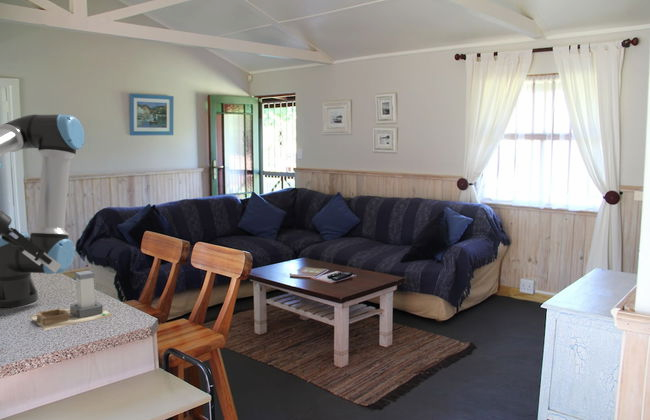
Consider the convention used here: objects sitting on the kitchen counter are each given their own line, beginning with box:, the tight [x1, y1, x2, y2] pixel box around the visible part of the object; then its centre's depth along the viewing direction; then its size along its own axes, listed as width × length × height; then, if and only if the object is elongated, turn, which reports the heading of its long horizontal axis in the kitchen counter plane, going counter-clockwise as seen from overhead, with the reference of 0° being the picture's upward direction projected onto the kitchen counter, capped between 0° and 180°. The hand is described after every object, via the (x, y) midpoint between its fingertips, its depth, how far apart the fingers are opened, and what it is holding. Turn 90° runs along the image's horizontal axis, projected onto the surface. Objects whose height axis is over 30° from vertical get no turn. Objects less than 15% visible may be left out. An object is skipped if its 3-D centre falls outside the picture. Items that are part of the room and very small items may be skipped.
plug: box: [74, 270, 96, 309], centre depth 177 cm, size 4×4×13 cm
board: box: [29, 308, 115, 331], centre depth 175 cm, size 16×20×1 cm
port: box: [69, 300, 106, 318], centre depth 177 cm, size 10×8×2 cm
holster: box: [36, 308, 69, 325], centre depth 171 cm, size 7×7×2 cm
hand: (50, 265), depth 169 cm, fingers open, 13 cm apart
